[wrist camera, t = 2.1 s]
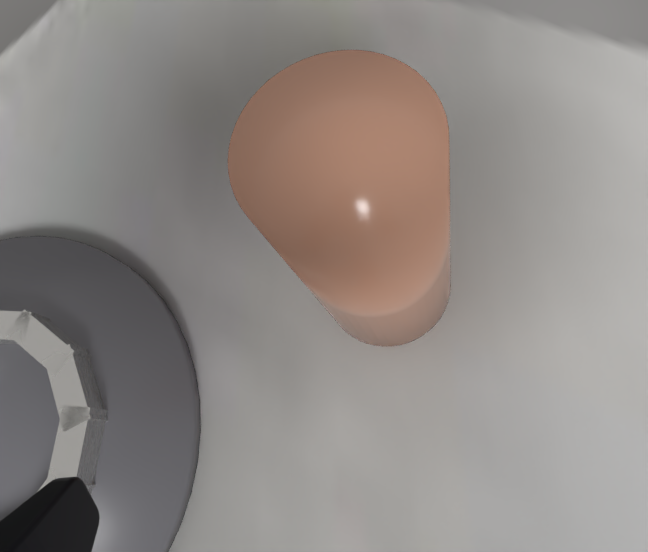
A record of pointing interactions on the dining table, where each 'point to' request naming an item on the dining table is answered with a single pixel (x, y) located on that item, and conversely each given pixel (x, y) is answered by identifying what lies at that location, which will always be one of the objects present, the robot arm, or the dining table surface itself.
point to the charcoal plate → (101, 390)
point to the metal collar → (63, 393)
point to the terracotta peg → (352, 188)
